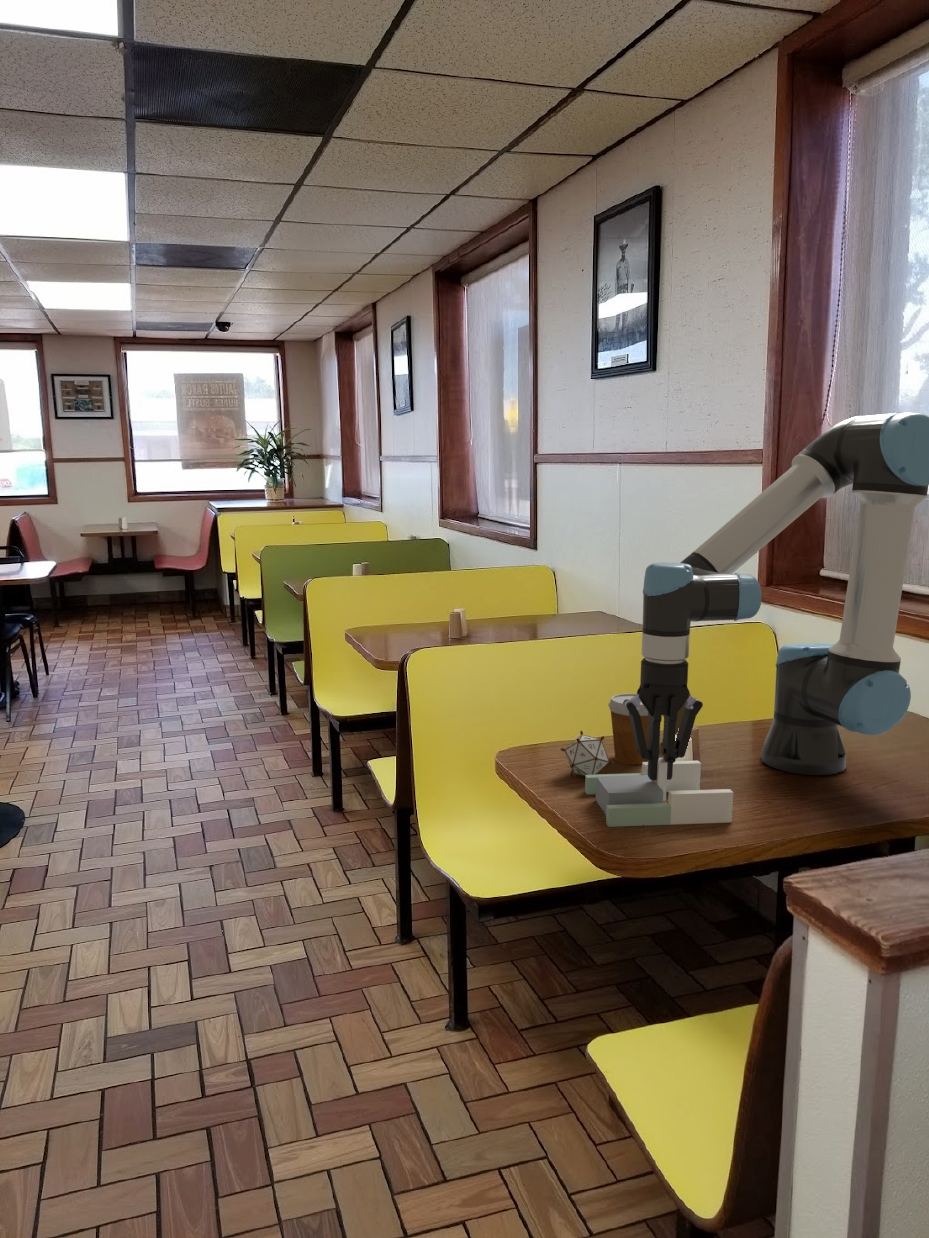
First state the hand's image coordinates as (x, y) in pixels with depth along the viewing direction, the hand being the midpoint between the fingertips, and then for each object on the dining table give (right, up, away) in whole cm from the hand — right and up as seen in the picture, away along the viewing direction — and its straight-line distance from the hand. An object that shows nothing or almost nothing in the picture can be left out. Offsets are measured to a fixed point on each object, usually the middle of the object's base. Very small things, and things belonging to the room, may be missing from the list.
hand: (658, 797), depth 155 cm
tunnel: (-1, -1, 0) cm, 2 cm away
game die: (-10, +1, +15) cm, 18 cm away
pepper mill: (+11, +4, +35) cm, 36 cm away
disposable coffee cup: (0, +2, +25) cm, 25 cm away
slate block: (-5, -2, -1) cm, 6 cm away
